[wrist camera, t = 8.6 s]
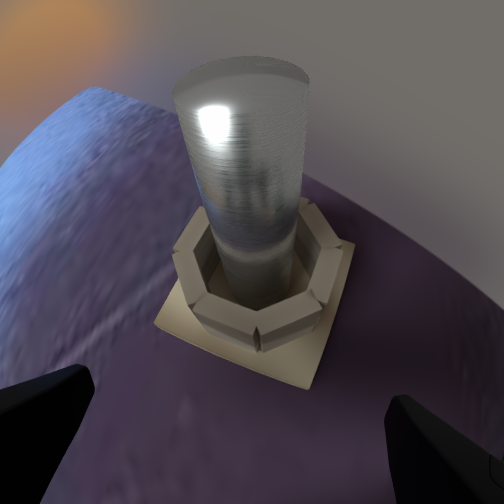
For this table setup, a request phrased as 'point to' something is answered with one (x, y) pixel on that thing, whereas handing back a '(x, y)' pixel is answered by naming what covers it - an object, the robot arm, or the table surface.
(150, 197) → the table surface
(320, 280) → the cup bracket
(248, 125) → the grey glossy cylinder
